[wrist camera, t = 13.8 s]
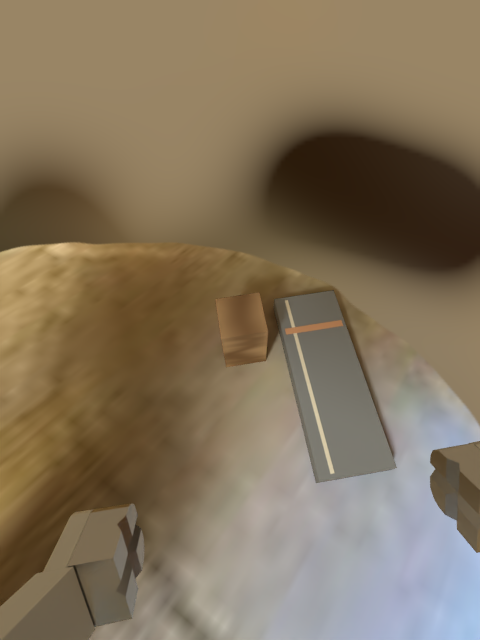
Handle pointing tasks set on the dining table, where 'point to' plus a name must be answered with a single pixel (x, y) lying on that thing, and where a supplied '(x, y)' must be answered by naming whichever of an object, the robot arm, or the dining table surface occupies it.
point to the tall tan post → (242, 329)
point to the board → (330, 389)
